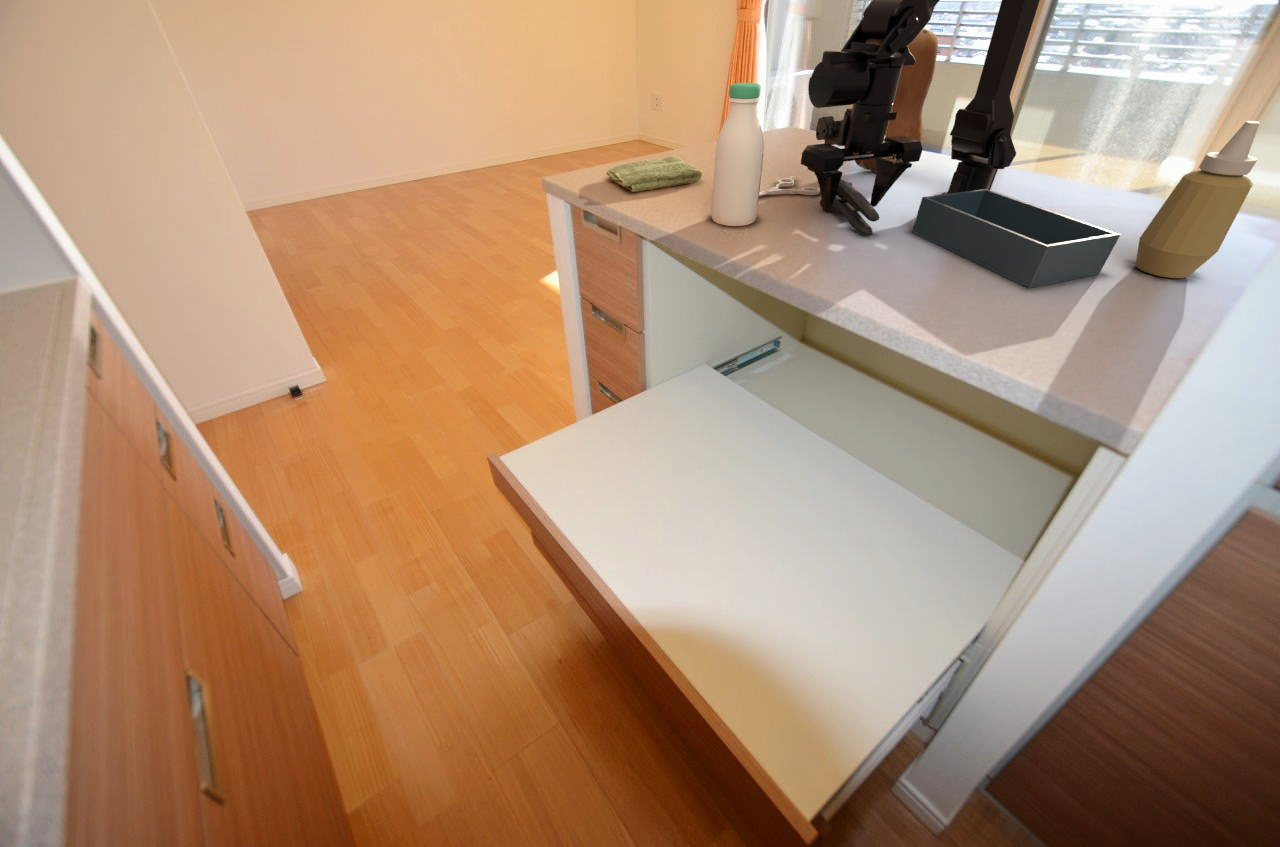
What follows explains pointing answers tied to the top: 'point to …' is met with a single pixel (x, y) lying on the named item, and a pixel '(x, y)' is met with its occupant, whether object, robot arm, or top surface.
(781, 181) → the scissors
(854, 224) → the can opener
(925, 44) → the butternut squash
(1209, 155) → the squeeze bottle
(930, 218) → the bin
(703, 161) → the top surface
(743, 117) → the milk bottle
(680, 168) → the washcloth
